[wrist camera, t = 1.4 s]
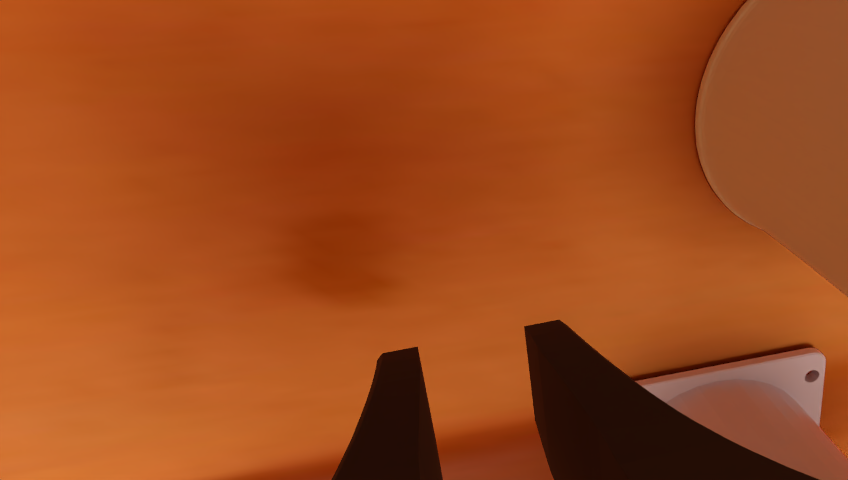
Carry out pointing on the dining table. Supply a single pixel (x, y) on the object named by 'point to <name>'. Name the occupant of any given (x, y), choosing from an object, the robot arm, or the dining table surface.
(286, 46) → the dining table surface
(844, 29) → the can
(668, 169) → the dining table surface
